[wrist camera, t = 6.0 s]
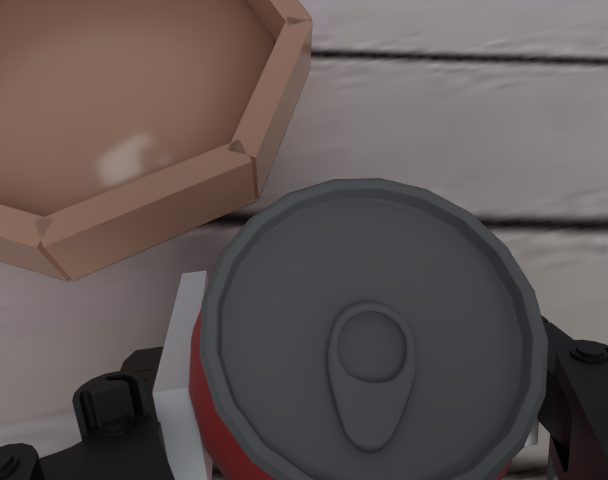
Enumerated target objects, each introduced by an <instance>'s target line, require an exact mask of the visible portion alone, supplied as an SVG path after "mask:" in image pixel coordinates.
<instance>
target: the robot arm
mask: <svg viewBox="0 0 608 480" xmlns="http://www.w3.org/2000/svg"><path fill="white" fill-rule="evenodd" d="M208 284H209V283H208V276H207V270H206V271H198V272H190V273H182V277H181V280H180V284H179V288H178V292H177V296H176V300H175V304H174V308H173V312H172V316H171V320H170V324H169V328H168V332H167V336H166V340H165V344H164V347H157V348H149V349H142V350H136V351H135V352H134V353H132V354H131V355H130V356H129V357H128V358H127V359H126V360H125V361H124V362H123V365H122V368H121V370H120V371H117V372H112V373H107V374H103V375H101V376H98V377H96V378H93V379H91V380H90V381H88V382H86V383H85V384H83V385H82V386H81V387H80V388H79V389H78V390H77V391H76V392H75V393H74V396H73V400H72V402H73V406H74V410H75V414H76V418H77V422H78V426H79V430H80V434H81V438H82V441H81V442H79V443H78V444H76V445H74V446H72V447H70V448H67V449H65V450H63V451H60V452H57V453H54V454H51V455H48V456H46V457H43V458H40V459H39V456H38V453H37V451H36V450H35V448H34V447H33V446H32V445H27V444H23V443H18V444H8V445H5V446H2V447H0V480H211V479H212V458H211V457H210V455H209V454H208V452H207V451H206V449H205V448H204V446H203V443H202V439H201V435H200V432H199V428H198V424H197V421H196V417H195V414H194V410H193V406H192V403H191V399H190V396H189V392H188V391H189V371H190V351H191V337H192V332H193V328H194V325H195V323H196V320H197V317H198V315H199V312H200V309H201V303H202V300H203V297H204V294H205V292H206V289H207V287H208ZM541 317H542V320H543V324H544V328H545V331H546V335H547V339H548V356H547V377H546V396H545V398H544V400H543V403H542V405H541V408H540V410H539V412H538V415H537V417H536V419H535V422H534V424H533V427H532V429H531V431H530V434H529V436H528V439H527V441H526V443H525V446H529V445H535V444H537V442H538V426H539V422H540V423H541V424H542V425H543V426H544V427H545V428H546V430H547V431H548V432H549V433H550V442H549V455H548V469H547V480H553V474H554V473H555V472H556V474H557V477H558V480H608V345H606V344H602V343H598V342H595V341H587V340H573V339H572V338H571V337H569V336H568V335H567V334H565V333H564V332H563V331H561V330H560V329H559V328H557V327H556V326H555V325H554V324H552V323H551V322H550V323H549V322H548V320H547V319H546V318H544V317H543V316H542V315H541Z"/></svg>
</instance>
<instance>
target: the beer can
mask: <svg viewBox="0 0 608 480" xmlns="http://www.w3.org/2000/svg"><path fill="white" fill-rule="evenodd" d="M547 356H548V339H547V335H546V331H545V328H544V324H543V320H542V317H541V313H540V310H539V306H538V302H537V299H536V295H535V291H534V289H533V288H532V286H531V284H530V283H529V281H528V280H527V278H526V276H525V275H524V273H523V272H522V270H521V268H520V267H519V265H518V264H517V262H516V260H515V259H514V257H513V255H512V254H511V252H510V251H509V249H508V247H507V246H506V245H505V244H504V243H502V242H501V241H500V240H499V239H498V238H497V237H496V236H495V235H494V234H493V233H492V232H491V231H490V230H488V229H487V228H486V227H485V226H484V225H483V224H482V223H481V222H480V221H479V220H478V219H477V218H475V217H474V216H473V215H472V214H471V213H470V212H468V211H466V210H464V209H462V208H461V207H459V206H457V205H455V204H453V203H451V202H449V201H447V200H446V199H444V198H442V197H440V196H438V195H436V194H434V193H432V192H431V191H429V190H427V189H423V188H419V187H414V186H410V185H406V184H402V183H398V182H394V181H389V180H385V179H381V178H372V179H333V180H330V181H326V182H323V183H320V184H316V185H313V186H310V187H307V188H303V189H300V190H297V191H293V192H290V193H288V194H286V195H285V196H283V197H282V198H280V199H279V200H277V201H276V202H274V203H273V204H271V205H270V206H268V207H267V208H265V209H263V210H262V211H260V212H259V213H257V214H256V215H254V216H253V217H251V218H250V219H249V220H248V221H247V223H246V224H245V225H244V226H243V227H242V229H241V230H240V231H239V232H238V234H237V235H236V236H235V237H234V238H233V240H232V241H231V242H230V243H229V245H228V246H227V247H226V248H225V249H224V251H223V252H222V253H221V254H220V256H219V258H218V261H217V263H216V266H215V269H214V271H213V274H212V276H211V279H210V282H209V284H208V287H207V289H206V292H205V294H204V297H203V300H202V303H201V309H200V312H199V315H198V317H197V320H196V323H195V325H194V328H193V332H192V337H191V351H190V371H189V391H188V392H189V396H190V399H191V403H192V406H193V410H194V414H195V417H196V421H197V424H198V428H199V432H200V435H201V439H202V443H203V446H204V448H205V449H206V451H207V452H208V454H209V455H210V457H211V458H212V460H213V461H214V463H215V464H216V466H217V467H218V469H219V470H220V471H221V473H222V474H223V476H224V477H225V479H226V480H501V478H502V477H503V476H504V475H505V474H506V473H507V471H508V468H509V466H510V464H511V461H512V459H513V458H514V457H515V456H516V455H517V454H518V453H519V452H520V451H521V449H522V448H523V447H524V446H525V443H526V441H527V439H528V436H529V434H530V431H531V429H532V427H533V424H534V422H535V419H536V417H537V415H538V412H539V410H540V408H541V405H542V403H543V400H544V398H545V396H546V377H547Z"/></svg>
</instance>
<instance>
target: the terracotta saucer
mask: <svg viewBox="0 0 608 480" xmlns="http://www.w3.org/2000/svg"><path fill="white" fill-rule="evenodd" d="M312 25H313V22H312V18H311V16H310V15H309V14H308V13H307V11H306V10H305V9H304V8H303V6H302V5H301V4H300V2H299V1H298V0H0V261H1V262H5V263H8V264H11V265H15V266H18V267H21V268H25V269H28V270H31V271H35V272H38V273H41V274H45V275H48V276H52V277H55V278H58V279H62V280H65V281H68V279H69V278H71V279H72V280H73V281H74V280H76V279H78V278H81V277H83V276H85V275H88V274H90V273H92V272H95V271H97V270H99V269H101V268H104V267H106V266H108V265H111V264H113V263H115V262H118V261H120V260H122V259H124V258H127V257H129V256H131V255H134V254H136V253H138V252H141V251H143V250H145V249H147V248H150V247H152V246H154V245H157V244H159V243H161V242H164V241H166V240H168V239H170V238H173V237H175V236H177V235H180V234H182V233H184V232H187V231H189V230H191V229H193V228H196V227H198V226H200V225H203V224H205V223H207V222H210V221H212V220H214V219H216V218H219V217H221V216H223V215H226V214H228V213H230V212H233V211H235V210H237V209H239V208H242V207H244V206H246V205H249V204H251V203H253V202H255V197H257V198H259V197H260V194H261V192H262V189H263V187H264V184H265V182H266V179H267V177H268V174H269V172H270V169H271V167H272V164H273V162H274V159H275V157H276V154H277V151H278V149H279V146H280V144H281V141H282V139H283V136H284V134H285V131H286V129H287V126H288V124H289V121H290V119H291V116H292V114H293V111H294V109H295V106H296V104H297V101H298V99H299V96H300V94H301V91H302V88H303V86H304V83H305V81H306V78H307V76H308V73H309V71H310V58H311V41H312Z"/></svg>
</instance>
